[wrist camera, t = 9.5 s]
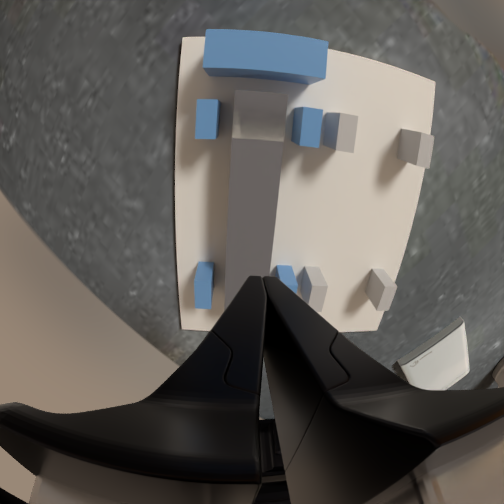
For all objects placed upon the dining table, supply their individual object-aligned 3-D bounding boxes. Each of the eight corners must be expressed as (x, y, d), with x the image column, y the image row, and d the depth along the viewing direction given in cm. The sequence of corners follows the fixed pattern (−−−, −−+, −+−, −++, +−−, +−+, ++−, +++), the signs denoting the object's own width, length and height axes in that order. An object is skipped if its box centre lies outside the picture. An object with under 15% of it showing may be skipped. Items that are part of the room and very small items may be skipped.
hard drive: (400, 367, 25) (420, 406, 29) (465, 321, 23) (470, 372, 27) (394, 356, 26) (416, 397, 31) (457, 312, 24) (465, 364, 29)
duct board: (374, 327, 23) (390, 356, 20) (182, 325, 22) (175, 359, 19) (432, 82, 14) (465, 81, 11) (184, 38, 13) (170, 21, 10)
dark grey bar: (261, 295, 20) (264, 318, 18) (225, 294, 20) (224, 317, 18) (280, 97, 15) (287, 94, 12) (235, 93, 14) (235, 89, 12)
